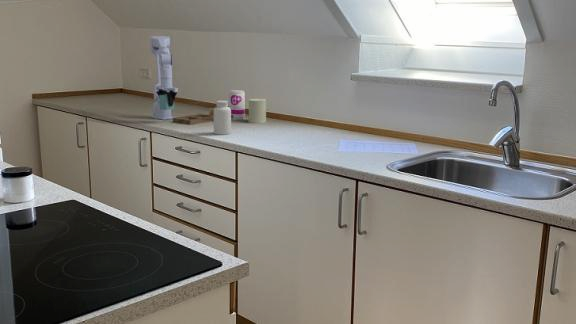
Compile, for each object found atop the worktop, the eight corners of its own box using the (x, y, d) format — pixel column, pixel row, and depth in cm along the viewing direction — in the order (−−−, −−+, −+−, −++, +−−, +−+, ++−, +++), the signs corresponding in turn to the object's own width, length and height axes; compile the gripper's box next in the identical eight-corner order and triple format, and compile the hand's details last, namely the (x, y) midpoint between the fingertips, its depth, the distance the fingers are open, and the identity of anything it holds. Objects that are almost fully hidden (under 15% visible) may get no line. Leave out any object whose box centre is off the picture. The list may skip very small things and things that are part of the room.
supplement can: (242, 120, 320) (242, 91, 316) (227, 119, 321) (227, 91, 318) (246, 118, 327) (246, 90, 324) (231, 117, 329) (231, 89, 326)
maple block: (209, 108, 326) (218, 107, 332) (209, 118, 328) (218, 116, 333) (215, 109, 323) (225, 108, 329) (215, 119, 324) (225, 117, 330)
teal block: (159, 109, 307) (159, 95, 306) (167, 108, 311) (167, 94, 310) (166, 110, 304) (166, 96, 303) (174, 108, 308) (173, 95, 307)
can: (257, 123, 310) (257, 100, 307) (244, 121, 316) (244, 98, 313) (269, 121, 316) (270, 98, 314) (257, 119, 322) (257, 97, 320)
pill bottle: (217, 135, 277) (217, 102, 273) (211, 132, 284) (210, 100, 280) (233, 134, 280) (233, 101, 277) (227, 131, 287) (226, 99, 284)
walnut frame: (172, 121, 312) (172, 118, 312) (200, 117, 328) (200, 113, 327) (190, 124, 305) (190, 120, 304) (218, 120, 320) (218, 116, 320)
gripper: (150, 77, 306) (151, 104, 309) (169, 79, 297) (170, 107, 300) (161, 76, 311) (162, 103, 314) (180, 78, 303) (181, 106, 306)
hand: (167, 105), depth 308 cm, fingers closed on teal block, 5 cm apart
